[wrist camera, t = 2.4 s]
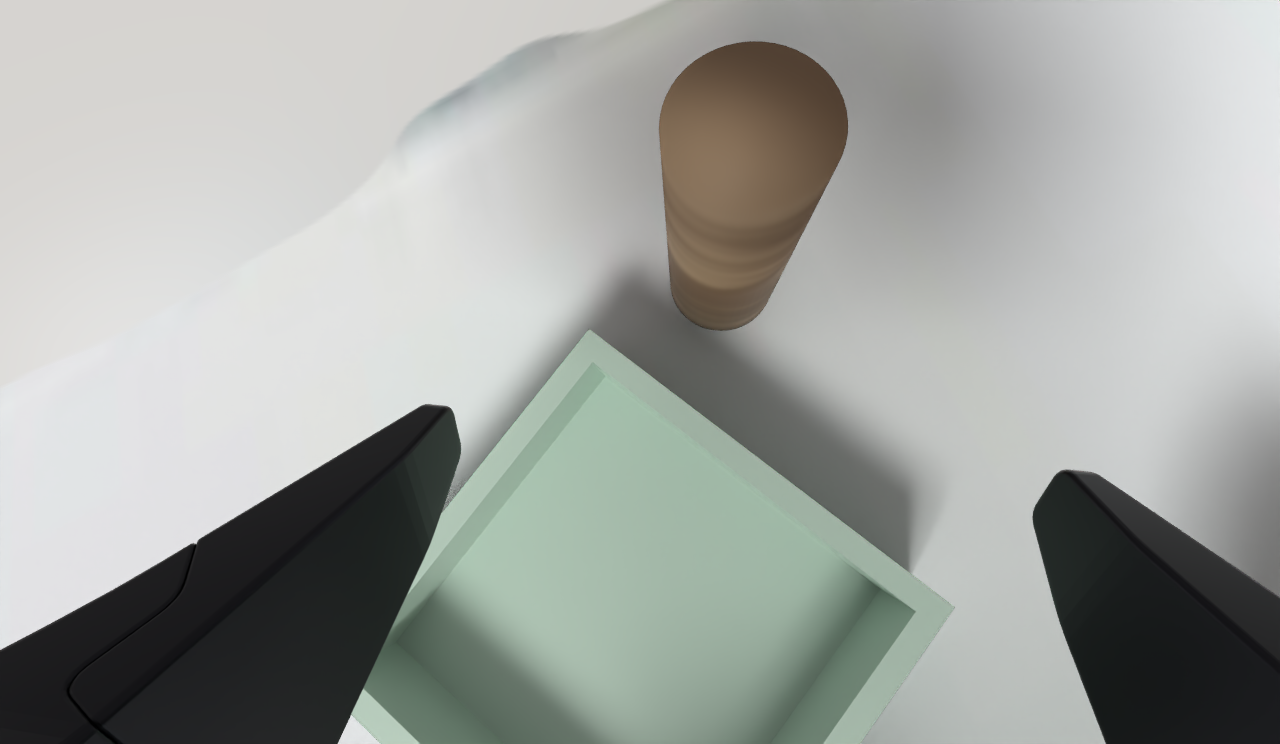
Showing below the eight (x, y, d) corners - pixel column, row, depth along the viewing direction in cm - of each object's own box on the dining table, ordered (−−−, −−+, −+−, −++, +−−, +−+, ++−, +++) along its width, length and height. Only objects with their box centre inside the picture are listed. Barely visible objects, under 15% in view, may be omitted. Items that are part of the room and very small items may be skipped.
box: (668, 922, 19) (664, 1024, 16) (372, 641, 21) (311, 675, 18) (908, 583, 20) (955, 607, 17) (603, 350, 22) (589, 328, 19)
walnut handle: (731, 350, 22) (773, 249, 12) (650, 291, 23) (622, 145, 12) (792, 271, 22) (886, 104, 12) (710, 215, 23) (732, 9, 13)
